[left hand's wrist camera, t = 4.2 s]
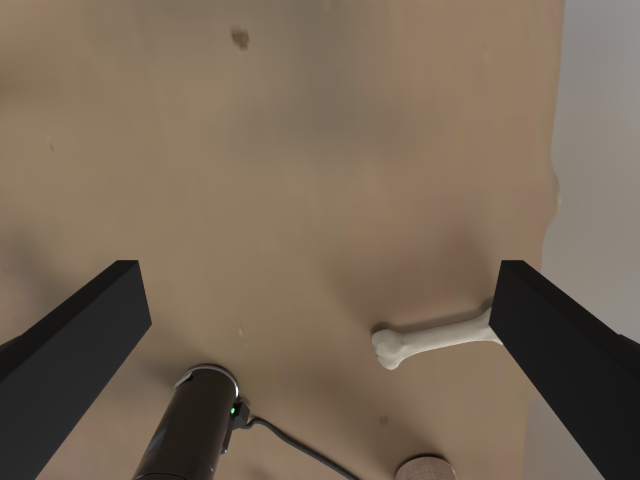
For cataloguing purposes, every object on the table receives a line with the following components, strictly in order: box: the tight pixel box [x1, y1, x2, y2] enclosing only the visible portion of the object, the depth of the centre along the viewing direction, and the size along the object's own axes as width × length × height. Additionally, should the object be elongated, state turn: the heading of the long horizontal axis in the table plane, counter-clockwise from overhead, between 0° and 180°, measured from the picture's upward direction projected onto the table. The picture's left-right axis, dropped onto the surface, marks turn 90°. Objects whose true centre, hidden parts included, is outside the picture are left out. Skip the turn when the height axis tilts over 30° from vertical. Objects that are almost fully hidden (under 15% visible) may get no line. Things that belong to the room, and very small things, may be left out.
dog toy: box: [372, 307, 503, 370], centre depth 50 cm, size 20×6×5 cm, turn 105°
